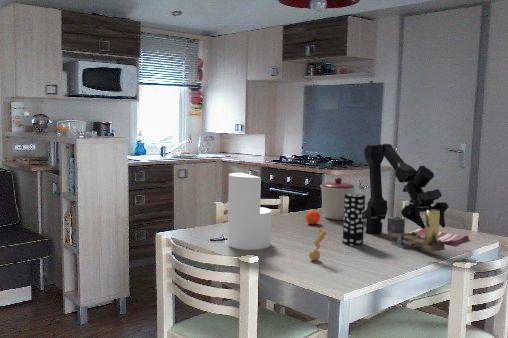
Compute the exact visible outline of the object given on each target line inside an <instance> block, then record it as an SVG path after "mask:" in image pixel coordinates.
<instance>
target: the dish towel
mask: <svg viewBox="0 0 508 338" xmlns="http://www.w3.org/2000/svg"><path fill="white" fill-rule="evenodd" d="M412 232H416V233H418V237H419V238H422V239H424V236H425V229H422V228H415V229H411V230H409V231H407V232H405V233H407V234H410V235H412ZM469 239H470V237H469V235H461V234H460V235H459V234H451V233H448V232H447V233H446V232H443V231H442V232H441V231H439V234H438V242H445V245H446V246H447V245H448V246H452V247H454V246H456V245H458V244H462V243H464V242H467V241H468V240H469Z"/></svg>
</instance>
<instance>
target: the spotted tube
mask: <svg viewBox="0 0 508 338" xmlns="http://www.w3.org/2000/svg"><path fill="white" fill-rule="evenodd" d="M365 210H366V195H365V194H361V193H354V194H345V196H344V220H342V222H343V225H342V244H344V245H346V246H350V247H351V246H353V247H359V246H362V245H364V235H365V234H364V233H365V231H364V230H365V219H364V213H365Z"/></svg>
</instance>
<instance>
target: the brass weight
mask: <svg viewBox="0 0 508 338" xmlns="http://www.w3.org/2000/svg"><path fill="white" fill-rule="evenodd" d="M439 217H440V210H435V209H426V212H425V219H424V220H425V222H424V225H425V236H424V244H426V245H432V243H433V242H438V234H439V232H440V230H439V229H440V224H439Z"/></svg>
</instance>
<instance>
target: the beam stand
mask: <svg viewBox="0 0 508 338" xmlns="http://www.w3.org/2000/svg"><path fill="white" fill-rule="evenodd" d="M412 235H413V236H416V237H418V233H416V232H412ZM403 236H404V234H402V233H398V238H397V240H395V241H390V244H391V245H393V246H395V247H398V248H400V249H403V250H405V249H417V248H422V247H421V246H418V245H415V244H412V243H410V242H407V241H404V240H403Z"/></svg>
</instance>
